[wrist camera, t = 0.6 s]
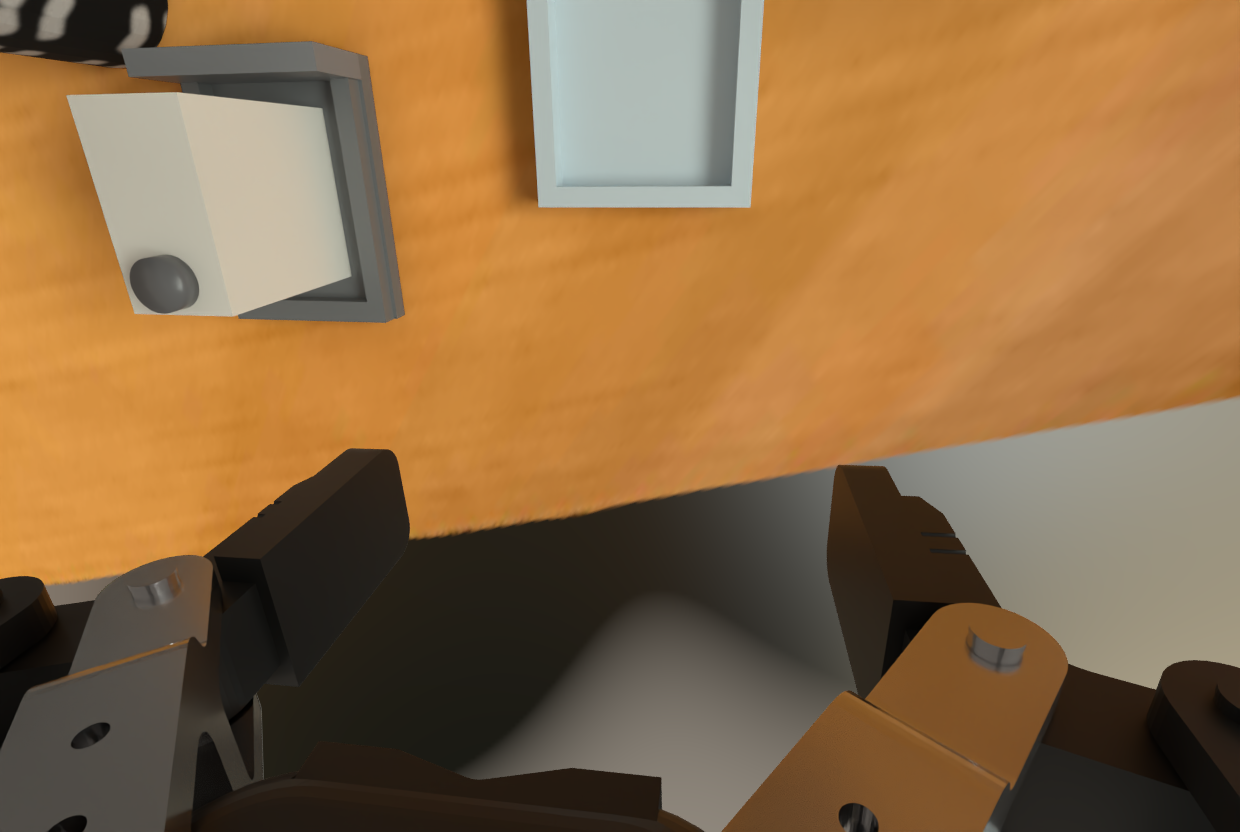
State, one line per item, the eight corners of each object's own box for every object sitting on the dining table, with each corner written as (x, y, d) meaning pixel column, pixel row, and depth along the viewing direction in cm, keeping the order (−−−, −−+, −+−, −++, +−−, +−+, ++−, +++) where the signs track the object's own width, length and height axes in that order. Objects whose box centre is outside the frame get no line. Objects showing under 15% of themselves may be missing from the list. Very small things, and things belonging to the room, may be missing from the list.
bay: (199, 62, 35) (121, 48, 30) (367, 56, 34) (312, 41, 29) (257, 311, 40) (199, 331, 36) (404, 314, 39) (363, 336, 34)
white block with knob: (238, 110, 35) (41, 92, 25) (322, 108, 34) (155, 89, 24) (274, 274, 38) (115, 318, 28) (351, 276, 37) (216, 321, 27)
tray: (530, -134, 29) (517, -154, 27) (771, -152, 28) (775, -175, 26) (548, 204, 35) (538, 207, 33) (748, 204, 34) (750, 207, 32)
